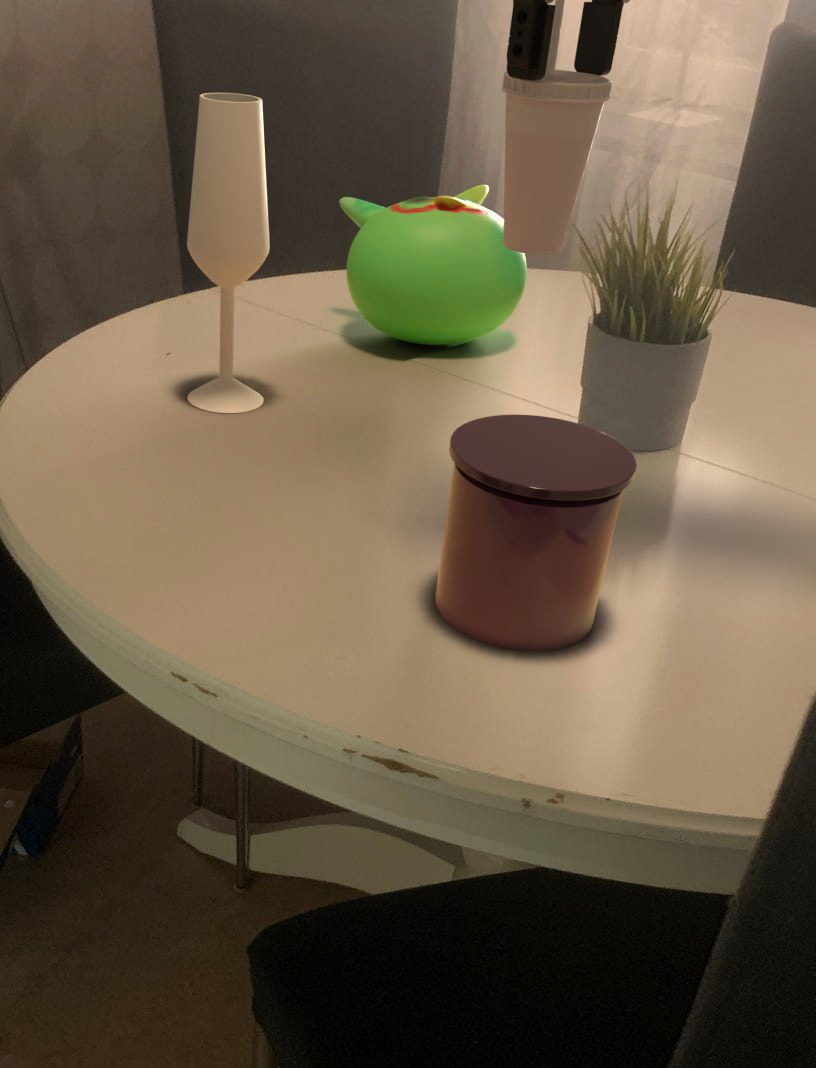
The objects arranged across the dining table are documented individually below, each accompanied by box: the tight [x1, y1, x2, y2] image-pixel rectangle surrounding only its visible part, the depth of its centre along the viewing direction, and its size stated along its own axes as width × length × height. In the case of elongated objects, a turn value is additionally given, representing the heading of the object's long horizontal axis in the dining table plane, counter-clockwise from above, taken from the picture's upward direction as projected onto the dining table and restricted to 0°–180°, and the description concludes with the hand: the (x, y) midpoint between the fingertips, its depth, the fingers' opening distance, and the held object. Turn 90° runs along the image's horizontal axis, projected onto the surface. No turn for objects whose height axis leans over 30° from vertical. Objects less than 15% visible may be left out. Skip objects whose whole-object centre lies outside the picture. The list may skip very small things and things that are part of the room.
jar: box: [434, 414, 638, 651], centre depth 68 cm, size 11×11×11 cm
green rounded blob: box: [338, 184, 528, 346], centre depth 112 cm, size 18×17×15 cm
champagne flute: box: [186, 92, 271, 414], centre depth 91 cm, size 7×7×24 cm
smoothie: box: [500, 0, 614, 256], centre depth 66 cm, size 6×6×14 cm
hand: (559, 75), depth 65 cm, fingers closed on smoothie, 6 cm apart
